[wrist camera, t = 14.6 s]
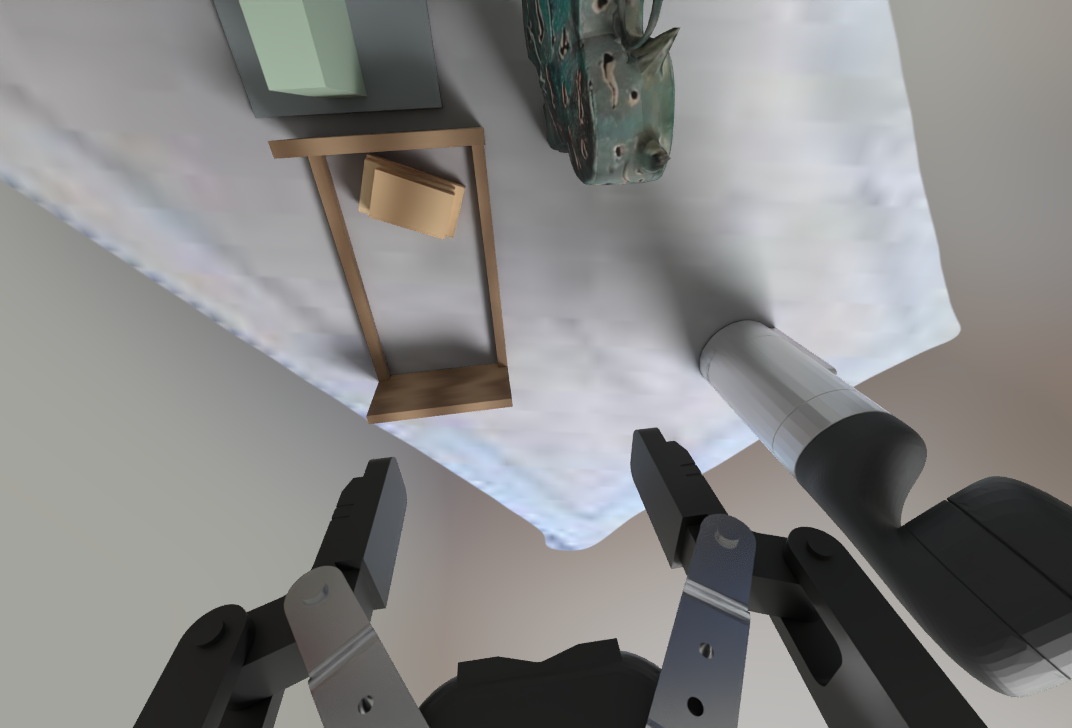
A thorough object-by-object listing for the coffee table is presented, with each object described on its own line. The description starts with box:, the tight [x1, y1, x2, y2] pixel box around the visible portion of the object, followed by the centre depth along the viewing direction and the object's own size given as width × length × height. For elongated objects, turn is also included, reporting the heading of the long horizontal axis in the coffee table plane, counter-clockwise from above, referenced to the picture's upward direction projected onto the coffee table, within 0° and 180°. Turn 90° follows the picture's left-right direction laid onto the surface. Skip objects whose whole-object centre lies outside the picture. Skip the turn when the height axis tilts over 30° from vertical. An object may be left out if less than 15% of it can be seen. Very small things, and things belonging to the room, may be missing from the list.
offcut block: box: [359, 153, 465, 239], centre depth 33 cm, size 8×4×4 cm, turn 71°
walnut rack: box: [268, 127, 512, 424], centre depth 36 cm, size 14×24×7 cm, turn 3°
